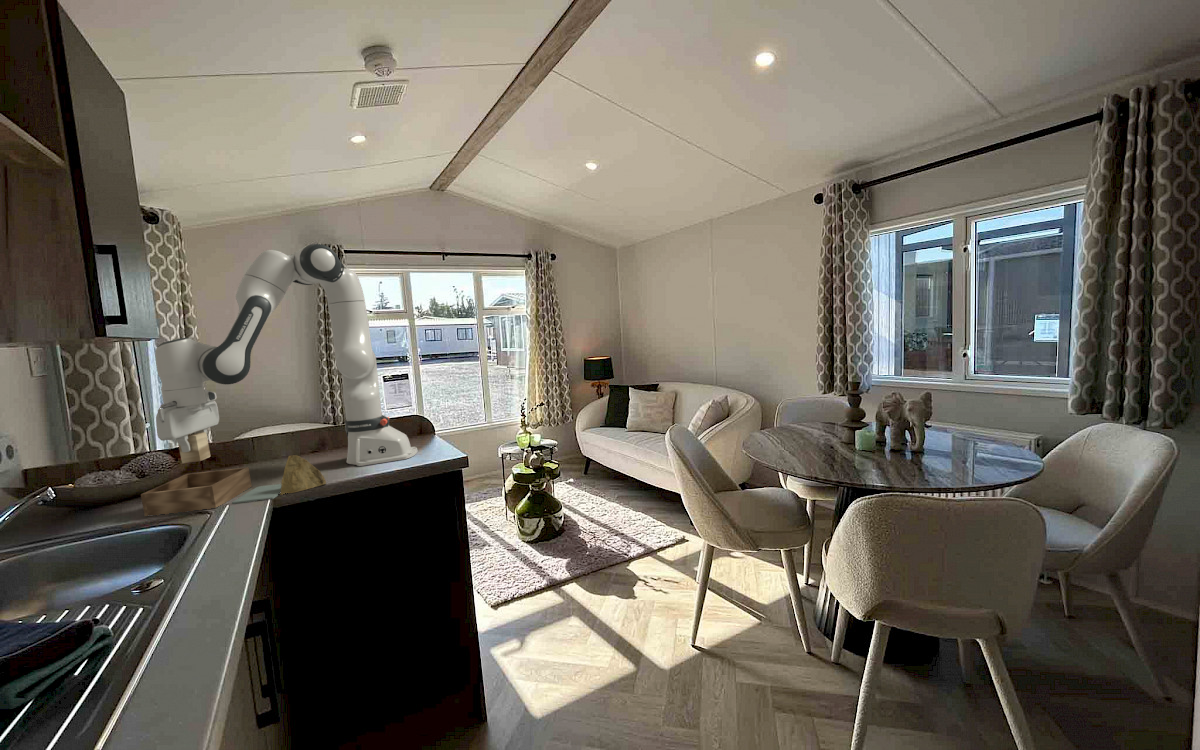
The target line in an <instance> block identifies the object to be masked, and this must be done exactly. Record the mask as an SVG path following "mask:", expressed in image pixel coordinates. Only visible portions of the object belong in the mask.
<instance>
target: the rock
mask: <svg viewBox="0 0 1200 750" xmlns="http://www.w3.org/2000/svg"><path fill="white" fill-rule="evenodd" d="M285 462H286V463H285V466H284V470H283V475H282V479H281V481H280V482H281V483H280V484H281V493H280V494H279V495H280V496H284V495H287V493H288V494H293V493H294V494H295V493H299V492H302V491H305V490H310V489H314V488H316V487H321V486H325V485H326V484H327V481H326V479H325V476H324V475H323V474H322V472H321V470H319V469H318V468H317V467H315V466H314V465H313V464H312V463H311V462H309V461H308V460H307V459H305V458H303V457H301V456H299V455H296V454H295V455H294V454H293V455H288V457H287V461H285ZM285 493H286V494H285ZM283 494H284V495H283Z"/></svg>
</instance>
